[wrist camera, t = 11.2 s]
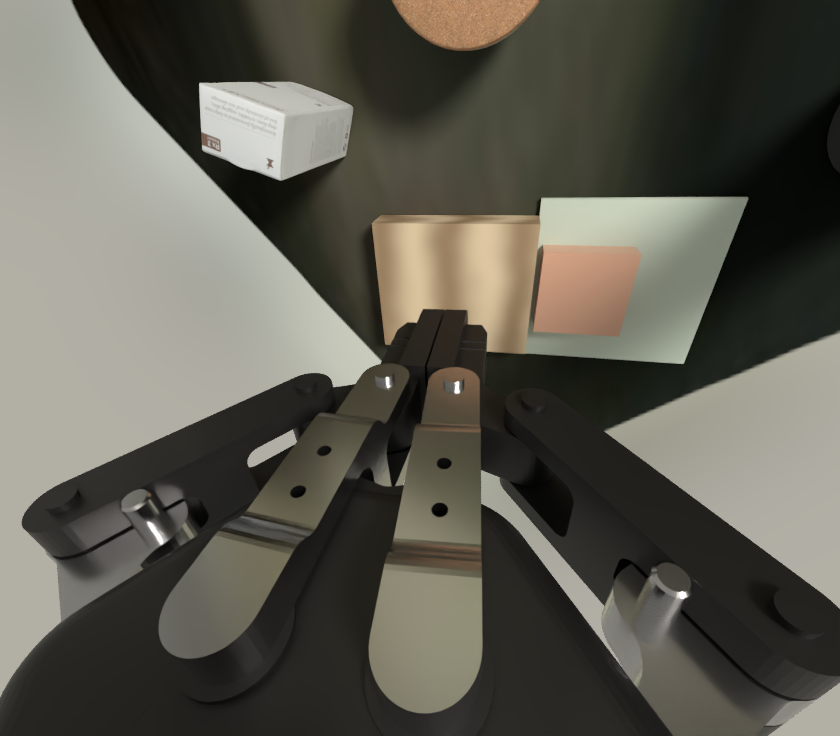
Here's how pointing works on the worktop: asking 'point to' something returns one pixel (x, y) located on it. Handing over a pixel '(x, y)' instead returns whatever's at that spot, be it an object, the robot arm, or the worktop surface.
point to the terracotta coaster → (584, 289)
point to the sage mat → (644, 268)
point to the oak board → (459, 271)
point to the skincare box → (273, 126)
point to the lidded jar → (465, 20)
